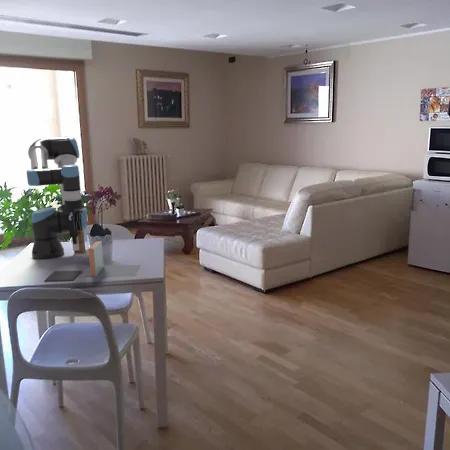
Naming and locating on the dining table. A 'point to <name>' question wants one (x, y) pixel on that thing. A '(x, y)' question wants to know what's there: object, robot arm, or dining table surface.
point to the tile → (96, 258)
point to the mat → (116, 271)
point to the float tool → (81, 246)
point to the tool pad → (62, 276)
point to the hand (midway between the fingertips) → (77, 248)
